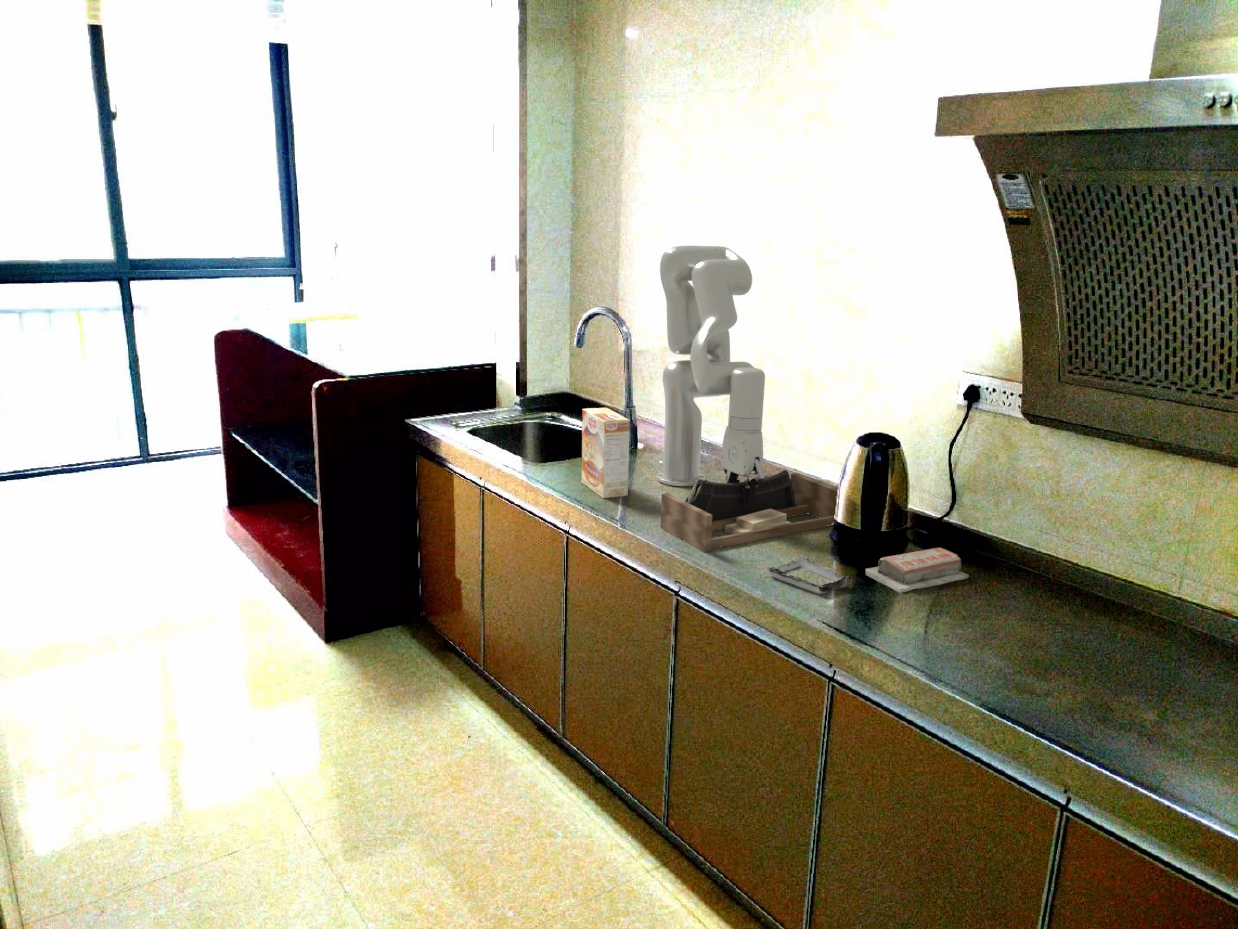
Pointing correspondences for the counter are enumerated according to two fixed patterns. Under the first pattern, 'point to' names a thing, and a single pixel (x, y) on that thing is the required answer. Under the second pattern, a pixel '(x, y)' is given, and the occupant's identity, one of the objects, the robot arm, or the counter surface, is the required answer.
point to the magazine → (728, 497)
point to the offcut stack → (757, 521)
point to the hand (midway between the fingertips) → (740, 499)
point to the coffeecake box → (605, 452)
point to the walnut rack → (699, 524)
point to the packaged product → (918, 569)
